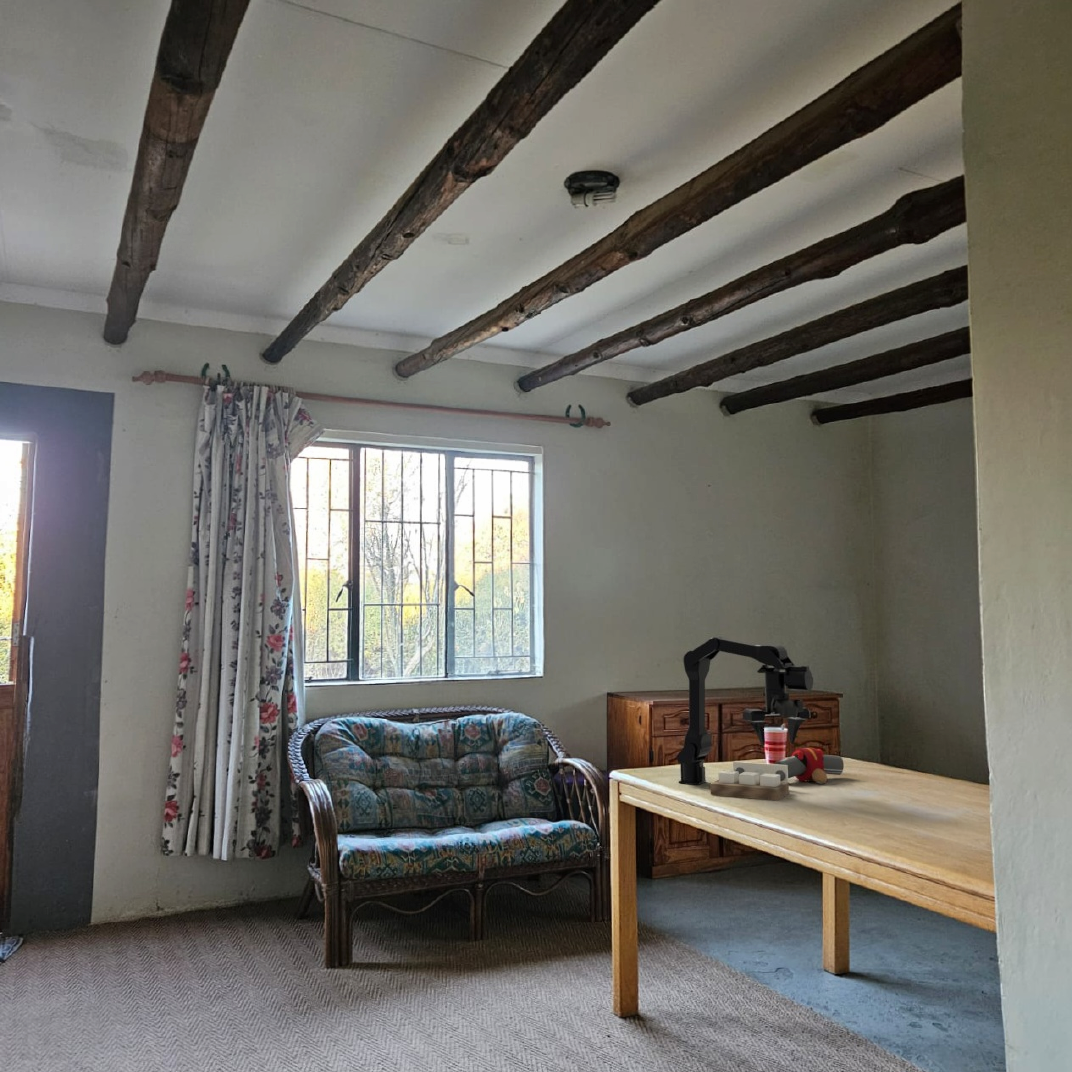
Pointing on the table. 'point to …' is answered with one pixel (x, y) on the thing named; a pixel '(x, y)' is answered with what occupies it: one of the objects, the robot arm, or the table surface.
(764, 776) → the button right
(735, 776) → the button left
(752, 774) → the button mid
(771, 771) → the card
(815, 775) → the toy
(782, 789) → the board
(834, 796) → the table surface
